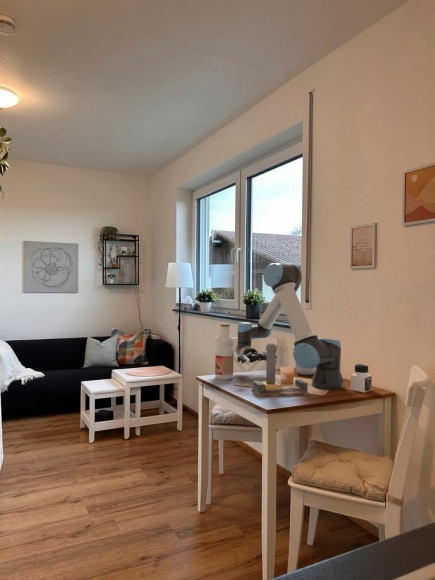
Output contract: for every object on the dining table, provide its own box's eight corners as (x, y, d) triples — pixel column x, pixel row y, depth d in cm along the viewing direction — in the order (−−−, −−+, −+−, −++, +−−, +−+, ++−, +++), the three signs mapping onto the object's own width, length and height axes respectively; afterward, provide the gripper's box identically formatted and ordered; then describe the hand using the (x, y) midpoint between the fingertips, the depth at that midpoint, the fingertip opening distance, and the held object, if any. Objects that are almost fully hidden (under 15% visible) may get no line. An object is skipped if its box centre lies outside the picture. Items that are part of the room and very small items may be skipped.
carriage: (275, 385, 195) (276, 341, 195) (280, 389, 188) (281, 343, 188) (260, 386, 194) (261, 341, 194) (265, 389, 187) (266, 344, 187)
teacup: (313, 376, 230) (314, 361, 230) (293, 374, 233) (293, 360, 233) (316, 371, 243) (316, 357, 243) (297, 370, 246) (297, 356, 246)
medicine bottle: (364, 392, 196) (365, 366, 196) (350, 390, 201) (350, 364, 201) (371, 390, 201) (372, 364, 201) (357, 387, 206) (357, 362, 206)
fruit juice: (230, 380, 216) (231, 325, 215) (212, 379, 218) (213, 324, 218) (235, 376, 225) (236, 323, 224) (217, 375, 227) (218, 322, 227)
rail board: (298, 389, 201) (298, 378, 201) (309, 395, 189) (309, 384, 189) (251, 390, 195) (251, 379, 195) (259, 397, 184) (259, 385, 184)
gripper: (271, 361, 225) (287, 369, 205) (225, 361, 220) (236, 370, 199) (272, 347, 225) (287, 353, 205) (226, 347, 220) (237, 354, 199)
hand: (262, 361), depth 202 cm, fingers open, 13 cm apart
